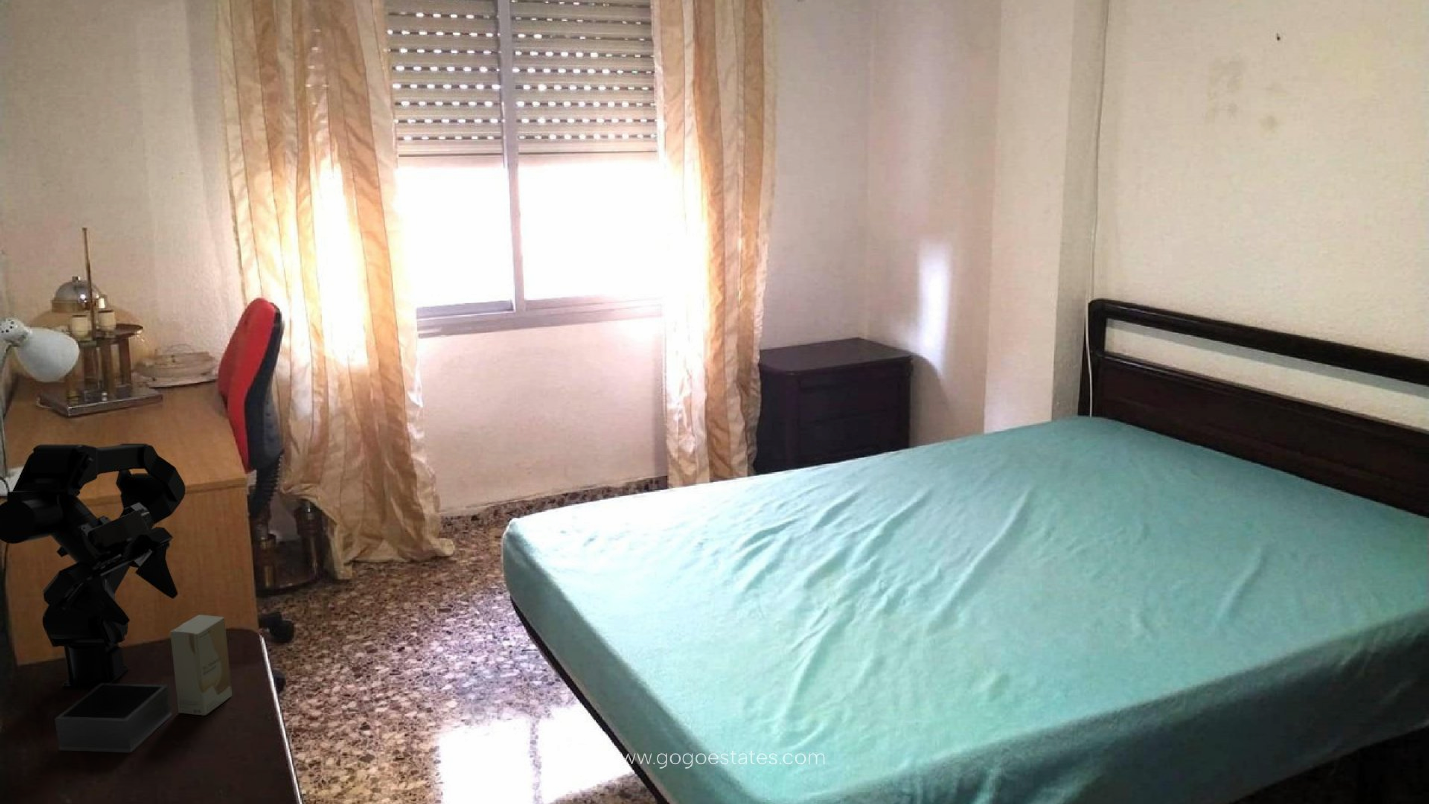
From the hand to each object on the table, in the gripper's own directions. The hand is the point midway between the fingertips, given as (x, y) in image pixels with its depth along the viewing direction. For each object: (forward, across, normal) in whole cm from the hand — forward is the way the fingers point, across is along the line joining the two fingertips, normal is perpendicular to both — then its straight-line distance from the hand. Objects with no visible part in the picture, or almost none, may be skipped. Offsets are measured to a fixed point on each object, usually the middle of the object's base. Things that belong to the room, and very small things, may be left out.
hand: (152, 609), depth 149 cm
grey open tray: (+10, -9, +9) cm, 16 cm away
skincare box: (+15, 0, +5) cm, 16 cm away
